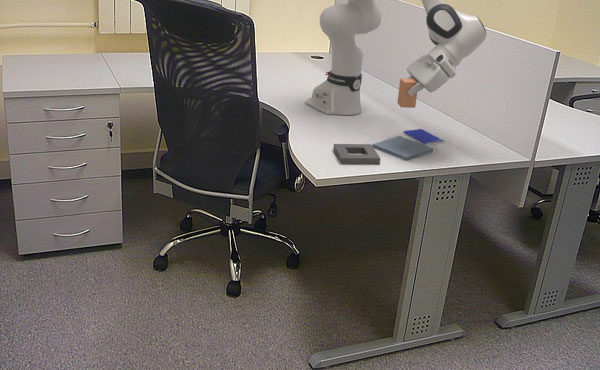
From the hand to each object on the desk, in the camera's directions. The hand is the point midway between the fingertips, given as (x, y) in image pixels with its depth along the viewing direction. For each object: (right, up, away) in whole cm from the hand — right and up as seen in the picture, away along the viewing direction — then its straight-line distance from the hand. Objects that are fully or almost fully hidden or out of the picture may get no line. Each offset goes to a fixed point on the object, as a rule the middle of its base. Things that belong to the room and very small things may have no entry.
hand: (406, 91), depth 202 cm
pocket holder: (-16, -20, -1) cm, 26 cm away
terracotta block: (0, -4, +2) cm, 5 cm away
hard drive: (+9, -14, +20) cm, 26 cm away
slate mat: (0, -18, +8) cm, 19 cm away
